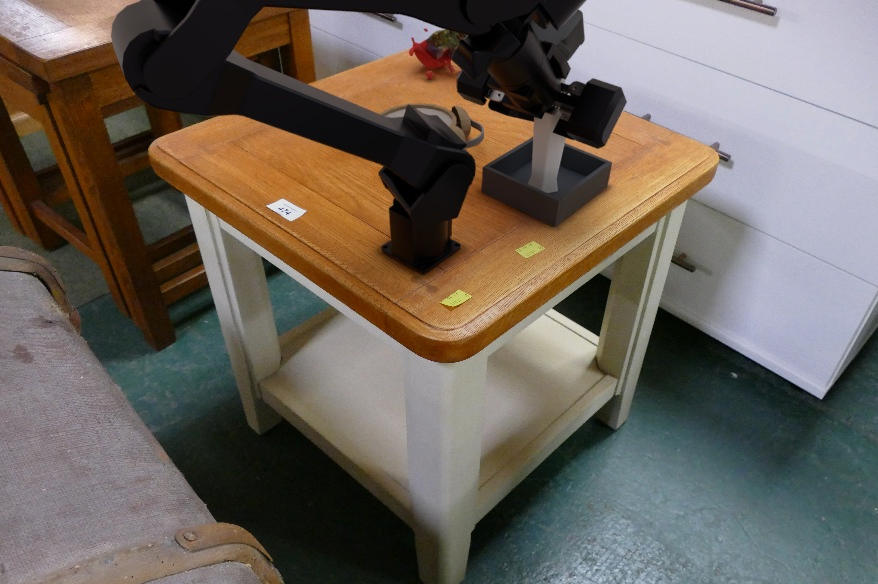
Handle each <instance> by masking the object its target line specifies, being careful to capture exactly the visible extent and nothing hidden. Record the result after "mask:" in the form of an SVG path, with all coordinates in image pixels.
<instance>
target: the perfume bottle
mask: <svg viewBox="0 0 878 584" xmlns="http://www.w3.org/2000/svg"><path fill="white" fill-rule="evenodd" d="M566 81H567V78H566V79H563V78H562V79H561V81H560V82H562V83H565V84H567V83H566ZM561 93H562V92H561ZM564 94H565V93H564ZM568 95H570V94H568ZM555 108H556V106H555ZM559 108H560V107H559ZM559 108H558V112H557V114H556V115H555V116H553V115H550V114H547V113H545V114H544V116H543V118H542V119H539V118H536V117H534V122H533V131H532V132H533V133H532V135H533V136H532V137H533V154H532V175H531V177H530V180H529V182H528V185H531V186H533V187H535V188H537V189H540V190H542V191H544V192H546V193H551V192H556V191H558V189H557V174H558V170H559V166H560V161H561V157H562V153H563V148H564V144H565V143H566V139H567V138H565V137H563V136H560V135H557V134H554V133H553V130H554V128H555V126H556V124H557V122H558V120H559V118H560V116H561V113H560V112H559Z"/></svg>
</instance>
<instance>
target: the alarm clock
mask: <svg viewBox="0 0 878 584" xmlns="http://www.w3.org/2000/svg"><path fill="white" fill-rule="evenodd" d="M408 104H410V105H411V106H413V107H414V108H416V109H417V110H419V111H420V112H422V113H424V114H427V115H437V116H439V117H440V118H441V119H442V120H443V121H444V122H445V123H446V124H447V125H448V126H449V127H450V128H451V129H452V130H453V131H454V132H455V133H456V134H457V135H458V136H459V137H460V138H461V139H462V140H463V141H464V142H465V143H466V144H467V146H466V147H465V149H466V150H467V149H470V148H473V147H476V146H478V145H480V144H481V143H482V142H483V141H484V139H485V128H484V126H483V125H482V123H479V122H478V121H475V120H474V119H473V118H471V117H470V115H469V113H468V111H467V110H466V109H465V108H463V107H462V106H459V105H453V106H452V107H451V110H450V109H448V108H446V107H445V106H441V105H437V104H434V103H433V104H432V103H425V102H424V103H422V102H419V103H406V104H401V105H396V106H393V107H390V108H387V109H384V110H383V111H382V112H380V113H379V114H380V115H383V116H385V117H390V118H394V117H404V114H405V111H406V108H407V105H408ZM472 128H473V129H475V130H477V131H479V132H480V134H478V136H477V137H475V138H472V139H469V140H467V139H468V138H469V136H470V135H471V131H472Z"/></svg>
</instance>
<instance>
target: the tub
mask: <svg viewBox="0 0 878 584" xmlns="http://www.w3.org/2000/svg"><path fill="white" fill-rule="evenodd" d="M532 154H533V136H532V137H530V138H528V139H526V140H524V141H523V142H521V143H520V144H518V145H516V146H514V147H513V148H511V149H509V150H508V151H506V152H505V153H503V154H501V155H500V156H498V157H497V158H495V159H493V160H491V161H490V162H488V163H486V164H484V165H483V166H482V168H481V169H482V171H481V172H482V173H481V193H482V194H483V195H486V196H488V197H490V198H492V199H494V200H497V201H499V202H501V203H503V204H505V205H506V206H507V205H508V206H509V207H511V208H513V209H516V210H518V211H520V212H522V213H524V214H526V215H529V216H530V217H533V218H534V219H537V220H539V221H541V222H543V223H546V224H547V225H550V226H551V227H553V228H556V227H558V226H559V225H560V224H561V223H563V222H564V221H565V220H567V219H568V218H570V216H572V215H573V214H574V213H576V212H577V211H579V209H581V208H582V207H584V206H585V205H587V203H589V202H590V201H592V200H593V199H594V198H595V197H597V196H598V195H599V194H600V193H602V192H603V191H605V190H606V189H607V188H608V187H609V182H610V176H611V171H612V166H613V162H612V161H610V160H607V159H605V158H603V157H600V156H598V155H596V154H593V153H591V152H588V151H585V150H583V149H581V148H578V147H575V146H573V145H571V144H568V143H566V142H565V144H564V148H563V153H562V157H561V161H560V166H559V170H558V174H557V189H558V191H556V192H551V193H546V192H544V191H542V190H540V189H537V188H535V187H533V186H531V185H528V182H529V180H530V177H531V175H532Z"/></svg>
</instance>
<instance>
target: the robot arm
mask: <svg viewBox="0 0 878 584" xmlns="http://www.w3.org/2000/svg"><path fill="white" fill-rule="evenodd" d="M587 1H588V0H139V1H136V2H133V3H131V4H128V5H126V6H125V7H123V8H122V9H121V10H120V11H119V12H118V13H117V14H116V16H115V18H114V20H113V21H112V24H111V32H110V39H111V43H112V46H113V51H114V54H115V55H116V58H117V61H118V63H119V66H120V69H121V72H122V75H123V77H124V79H125V81H126V83H127V85H128V86H129V88H130V90H131V91H132V92H133V93H134V95H135V96H136V97H137V98H138V99H139V100H141V101H142V102H143V103H145V104H146V105H148V106H150V107H153V108H155V109H159V110H162V111H168V112H174V113H180V114H186V115H191V116H198V117H201V118H202V117H203V118H210V117H211V118H212V117H225V116H226V117H227V116H239V117H244V118H247V119H250V120H253V121H255V122H258V123H261V124H264V125H267V126H270V127H273V128H276V129H278V130H281V131H283V132H287V133H290V134H292V135H295V136H298V137H301V138H303V139H307V140H308V141H312V142H315V143H317V144H321V145H324V146H326V147H329V148H332V149H335V150H338V151H340V152H343V153H346V154H349V155H352V156H355V157H356V158H357V157H358V158H360V159H363V160H366V161H369V162H371V163H374V164H376V165H377V164H378V165H379V166H382V167H381V168H380V169H379V171H378V172H377V174H378V177H379V179H380V181H381V183H382V185H383V187H384V188H385V190H387V191H388V192H389V194H390V195H391V196H392V197H393V200H392V205H391V206H389V207H388V214H389V215H388V217H389V218H388V219H389V234H390V235H389V236H390V240H388V241H387V242H386V243H384V244H382V245H381V247H380V251H381V252H382V253H383V254H385V255H387V256H388V257H390V258H392V259H394V260H395V261H398V262H399V263H400V264H403V265H404V266H407V267H408V268H410V269H412V270H413V271H415V272H416V273H419V274H420V275H425V274H427V273H429V272H431V271H432V270H433V269H435V268H436V267H437V266H439V265H440V264H442V263H443V262H445V261H447V259H449V258H451V257H453V255H456V253H458V252H459V251H460V250H462V244H461V243H460V242H458V241H456V240H455V239H453V238H451V237H452V235H453V220H455V219H458V218H459V215H460V213H461V210H462V207H463V205H464V202H465V199H466V197H467V194H468V191H469V189H470V187H471V186H472V184H473V181H474V179H475V177H476V171H477V165H476V158H475V157H474V156H473V155H472V154H471V153H470V152H469V151H468V150H467V149H465V147H466V146H467V144H466V143H465V142H464V141H463V140H462V139H461V138H460V137H459V136H458V135H457V134H456V133H455V132H454V131H453V130H452V129H451V128H450V127H449V126H448V125H447V124H446V123H445V122H444V121H443V120H442V119H441V118H440V117H439V116H437V115H427V114H424V113H422V112H420V111H419V110H417V109H416V108H414V107H413V106H411V105H410V104H411V103H407V104H408V105H407V108H406V111H405V114H404V117H394V118H390V117H385V116H383V115H380V113H379V112H376V111H373V110H370V109H368V108H366V107H364V106H361V105H359V104H356V103H354V102H351V101H349V100H347V99H344V98H342V97H340V96H337V95H335V94H332V93H329V92H327V91H326V90H322V89H320V88H318V87H316V86H313V85H311V84H309V83H306V82H303V81H301V80H298V79H297V78H294V77H291V76H289V75H286V74H284V73H282V72H279V71H277V70H274V69H272V68H269V67H267V66H265V65H262V64H260V63H258V62H255V61H253V60H250V59H249V58H246V57H245V56H244V55H242V54H240V53H239V52H238V51H236V50H235V47H236V46H237V44H238V42H239V41H240V39H241V37H242V36H243V34H244V33H245V31H246V30H247V27H248V26H249V25H250V23H251V22H252V20H253V19H254V18H255V17H256V16H257V15H258V14H259V13H260V12H261V11H262V10H263V9H264V8H273V9H293V10H313V11H330V12H331V11H332V12H346V13H347V12H349V13H363V14H364V13H367V14H383V15H384V14H385V15H398V16H399V15H401V16H405V17H409V18H413V19H415V20H418V21H421V22H423V23H426V24H428V25H431V26H434V27H437V28H439V29H441V30H445V29H446V30H450V31H454V32H457V33H461V34H465V35H467V36H466V37H465V38H464V39H460V40H459V43H458V46H457V47H456V49H455V50H454V52H453V55H452V60H451V62H452V63H454V64H455V65H456V66H457V67H458V68H459V69H460V73H459V72H458V75H457V78H456V81H455V83H456V84H455V85H456V88H455V89H456V92H457V93H458V95H459V96H460V97H461V98H462V99H463V100H465V101H467V102H471V103H474V104H475V105H478V106H481V107H482V106H485V105H486V104H487V107H488V109H489V110H490V111H493V112H496V113H499V114H501V115H504V116H506V117H510V118H514V119H519V120H523V121H528V122H531V123H534V117H536V118H539V119H542V118H543V116H544V114H545V113H547V114H550V115H553V116H555V115H556V114H557V112H558V108H559V107H560V108H559V112H560V113H561V116H560V118H559V120H558V122H557V124H556V126H555V128H554V130H553V133H554V134H557V135H560V136H563V137H565V138H566V139H568V140H570V141H576V142H578V143H581V144H584V145H586V146H589V147H591V148H594V149H597V150H599V149H601V148H604V147H606V145H607V143H608V141H609V139H610V137H611V135H612V133H613V131H614V129H615V127H616V125H617V123H618V121H619V120H620V117H621V116H622V113H623V111H624V109H625V107H626V105H627V103H628V101H627V98H626V95H625V93H624V89H623V88H622V87H621V86H618V85H615V84H612V83H610V82H606V81H603V80H600V79H597V78H594V77H592V78H591V79H589V80H587V81H586V83H585V82H582V81H578V80H574V81H572V82H571V83H568V84H567V83H562V82H560V81H561V79H562V78H563V79H566V80H567V78H568V77H569V74H570V72H571V70H572V68H571V66H570V64H569V62H568V61H569V60H571V58H572V57H573V56H574V55H575V53H576V52H577V50H578V49H579V48H580V46H582V45H583V44H584V43H585V40H586V37H585V36H586V35H585V23H584V22H585V21H584V13H583V11H582V10H580V8H582V6H583V5H584V4H585V3H586V2H587ZM561 92H562V93H561ZM564 93H565V94H564ZM568 94H570V95H568ZM487 101H488V103H487ZM555 106H556V108H555Z"/></svg>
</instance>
